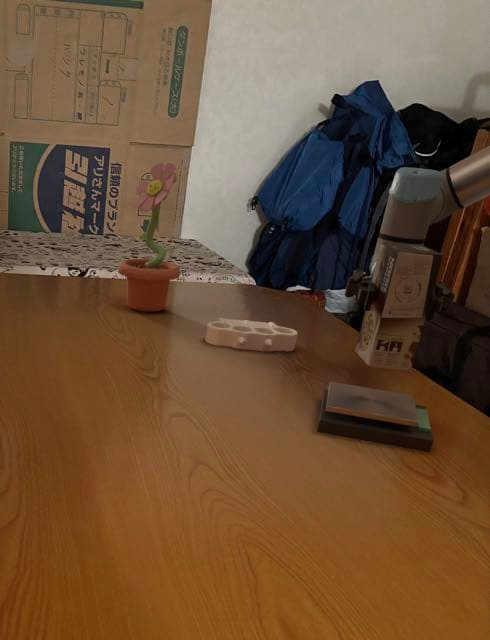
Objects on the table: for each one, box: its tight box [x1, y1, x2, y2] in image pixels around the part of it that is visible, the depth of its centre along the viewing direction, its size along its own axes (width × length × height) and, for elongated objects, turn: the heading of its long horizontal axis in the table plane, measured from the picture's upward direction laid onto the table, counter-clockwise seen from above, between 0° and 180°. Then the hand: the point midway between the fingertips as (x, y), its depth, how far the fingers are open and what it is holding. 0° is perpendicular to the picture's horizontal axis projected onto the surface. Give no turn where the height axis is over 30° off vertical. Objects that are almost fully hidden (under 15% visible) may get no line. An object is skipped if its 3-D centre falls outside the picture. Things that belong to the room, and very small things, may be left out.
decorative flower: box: [117, 162, 181, 313], centre depth 169 cm, size 15×14×30 cm
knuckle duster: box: [204, 317, 299, 353], centre depth 156 cm, size 3×18×15 cm
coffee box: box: [355, 243, 445, 372], centre depth 112 cm, size 9×6×16 cm
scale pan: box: [326, 381, 418, 427], centre depth 119 cm, size 13×13×1 cm
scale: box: [316, 389, 434, 453], centre depth 120 cm, size 16×16×2 cm
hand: (400, 305), depth 107 cm, fingers closed on coffee box, 8 cm apart
